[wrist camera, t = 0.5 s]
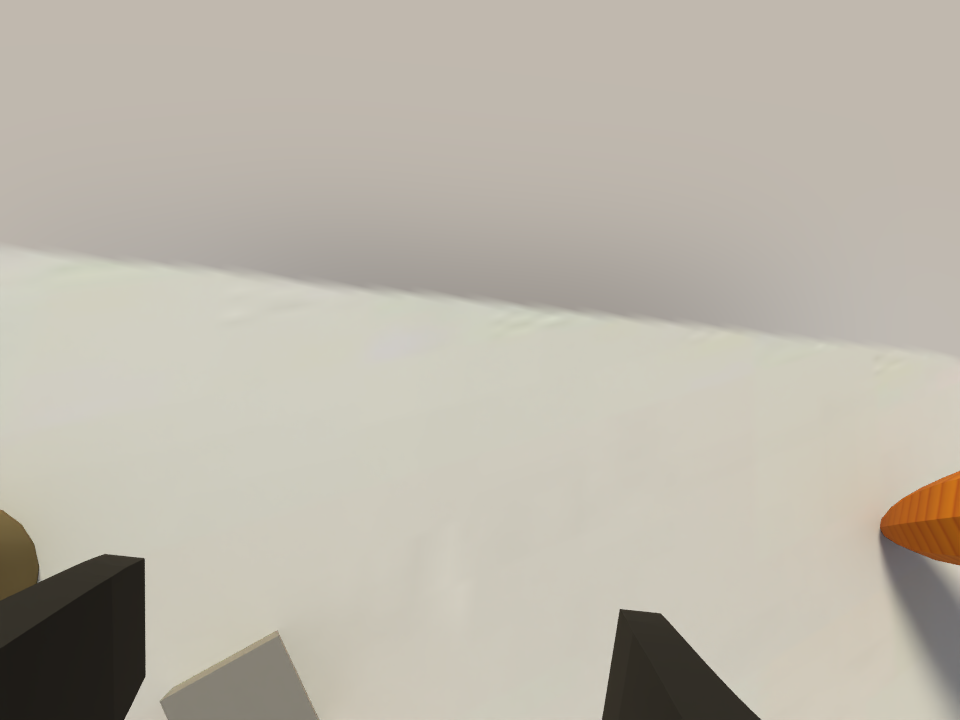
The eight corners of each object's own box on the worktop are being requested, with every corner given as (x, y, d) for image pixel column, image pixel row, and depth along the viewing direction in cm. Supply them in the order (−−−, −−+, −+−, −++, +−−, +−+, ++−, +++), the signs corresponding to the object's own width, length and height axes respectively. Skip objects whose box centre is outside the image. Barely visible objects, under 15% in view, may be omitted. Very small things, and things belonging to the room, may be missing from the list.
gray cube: (323, 729, 34) (331, 748, 29) (220, 792, 32) (213, 821, 28) (277, 630, 34) (278, 635, 30) (173, 687, 33) (159, 701, 29)
